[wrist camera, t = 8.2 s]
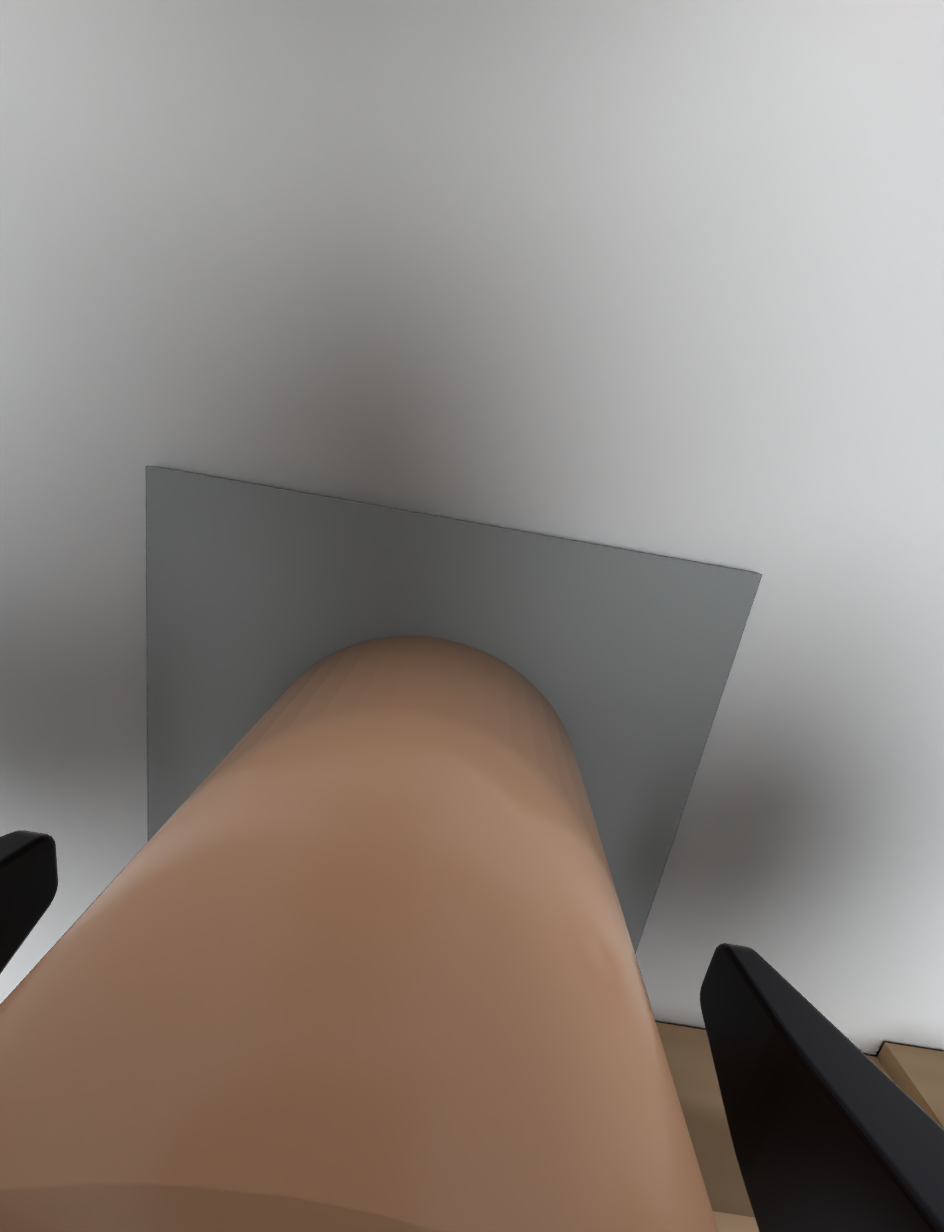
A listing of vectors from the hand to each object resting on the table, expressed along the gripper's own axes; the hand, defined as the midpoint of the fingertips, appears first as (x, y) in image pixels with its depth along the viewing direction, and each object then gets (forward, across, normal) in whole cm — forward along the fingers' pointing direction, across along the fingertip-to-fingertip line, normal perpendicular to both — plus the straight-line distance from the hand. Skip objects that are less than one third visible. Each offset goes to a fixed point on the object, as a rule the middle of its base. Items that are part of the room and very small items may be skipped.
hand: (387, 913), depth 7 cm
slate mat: (+3, 0, 0) cm, 3 cm away
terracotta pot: (+3, 0, 0) cm, 3 cm away
